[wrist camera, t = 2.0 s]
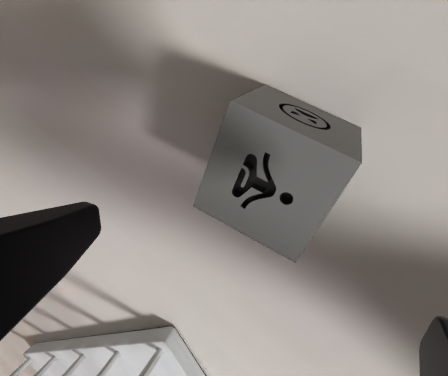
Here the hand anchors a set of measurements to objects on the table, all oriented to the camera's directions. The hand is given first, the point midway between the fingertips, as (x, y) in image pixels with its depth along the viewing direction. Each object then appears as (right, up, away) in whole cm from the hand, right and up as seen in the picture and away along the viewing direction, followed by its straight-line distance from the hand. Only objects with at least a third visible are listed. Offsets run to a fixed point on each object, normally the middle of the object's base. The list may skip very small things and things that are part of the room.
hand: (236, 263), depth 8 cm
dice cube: (+3, +4, +8) cm, 10 cm away
